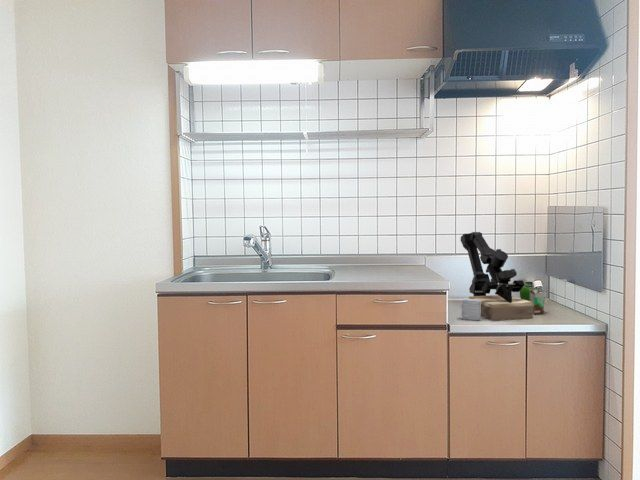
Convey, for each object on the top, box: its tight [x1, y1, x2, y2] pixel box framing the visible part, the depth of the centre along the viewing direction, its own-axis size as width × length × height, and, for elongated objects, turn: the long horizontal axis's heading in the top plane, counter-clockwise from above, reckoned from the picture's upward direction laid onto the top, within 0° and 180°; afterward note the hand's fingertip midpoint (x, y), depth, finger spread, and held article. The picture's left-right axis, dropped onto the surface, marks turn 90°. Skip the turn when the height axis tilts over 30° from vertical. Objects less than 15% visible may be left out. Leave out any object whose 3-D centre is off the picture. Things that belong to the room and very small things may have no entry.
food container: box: [530, 288, 548, 315], centre depth 239 cm, size 12×6×10 cm, turn 168°
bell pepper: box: [519, 283, 537, 301], centre depth 259 cm, size 8×8×10 cm
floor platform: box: [468, 294, 534, 322], centre depth 235 cm, size 20×20×7 cm
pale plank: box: [480, 296, 533, 308], centre depth 231 cm, size 12×20×2 cm, turn 104°
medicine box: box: [461, 298, 482, 321], centre depth 226 cm, size 8×4×9 cm, turn 71°
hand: (510, 302), depth 226 cm, fingers closed, pressing on pale plank
